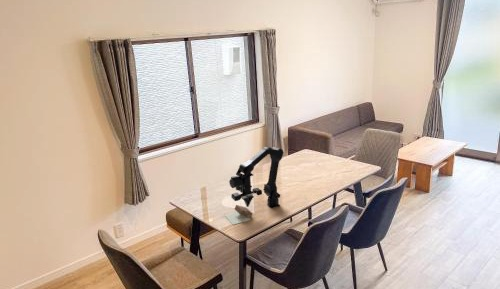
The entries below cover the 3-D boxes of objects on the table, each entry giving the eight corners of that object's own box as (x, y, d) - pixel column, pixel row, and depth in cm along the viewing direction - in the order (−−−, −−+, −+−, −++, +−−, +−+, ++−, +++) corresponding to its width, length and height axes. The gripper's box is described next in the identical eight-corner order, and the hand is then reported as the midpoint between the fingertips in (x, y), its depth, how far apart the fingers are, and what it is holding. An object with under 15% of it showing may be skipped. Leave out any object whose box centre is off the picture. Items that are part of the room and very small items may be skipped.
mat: (241, 210, 236) (241, 210, 235) (251, 219, 223) (250, 219, 223) (224, 215, 231) (224, 215, 231) (233, 225, 219) (233, 224, 219)
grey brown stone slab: (246, 207, 234) (236, 204, 230) (252, 213, 226) (242, 210, 222) (244, 212, 234) (234, 209, 230) (250, 217, 226) (240, 214, 222)
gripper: (253, 176, 235) (255, 198, 239) (227, 182, 227) (228, 205, 232) (261, 182, 225) (262, 204, 229) (234, 188, 217) (235, 212, 222)
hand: (247, 206), depth 228 cm, fingers closed
